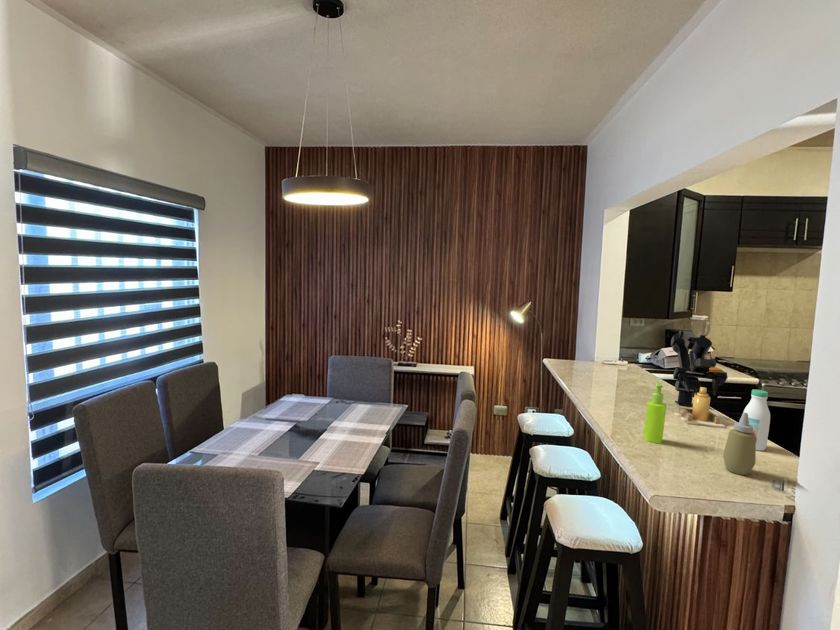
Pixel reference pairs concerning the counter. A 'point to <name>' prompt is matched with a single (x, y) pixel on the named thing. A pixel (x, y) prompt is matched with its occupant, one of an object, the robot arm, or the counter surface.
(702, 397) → the amber bottle
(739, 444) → the squeeze bottle
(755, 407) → the milk bottle
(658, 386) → the soap dispenser
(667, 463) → the counter surface
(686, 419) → the u rest
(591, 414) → the counter surface
